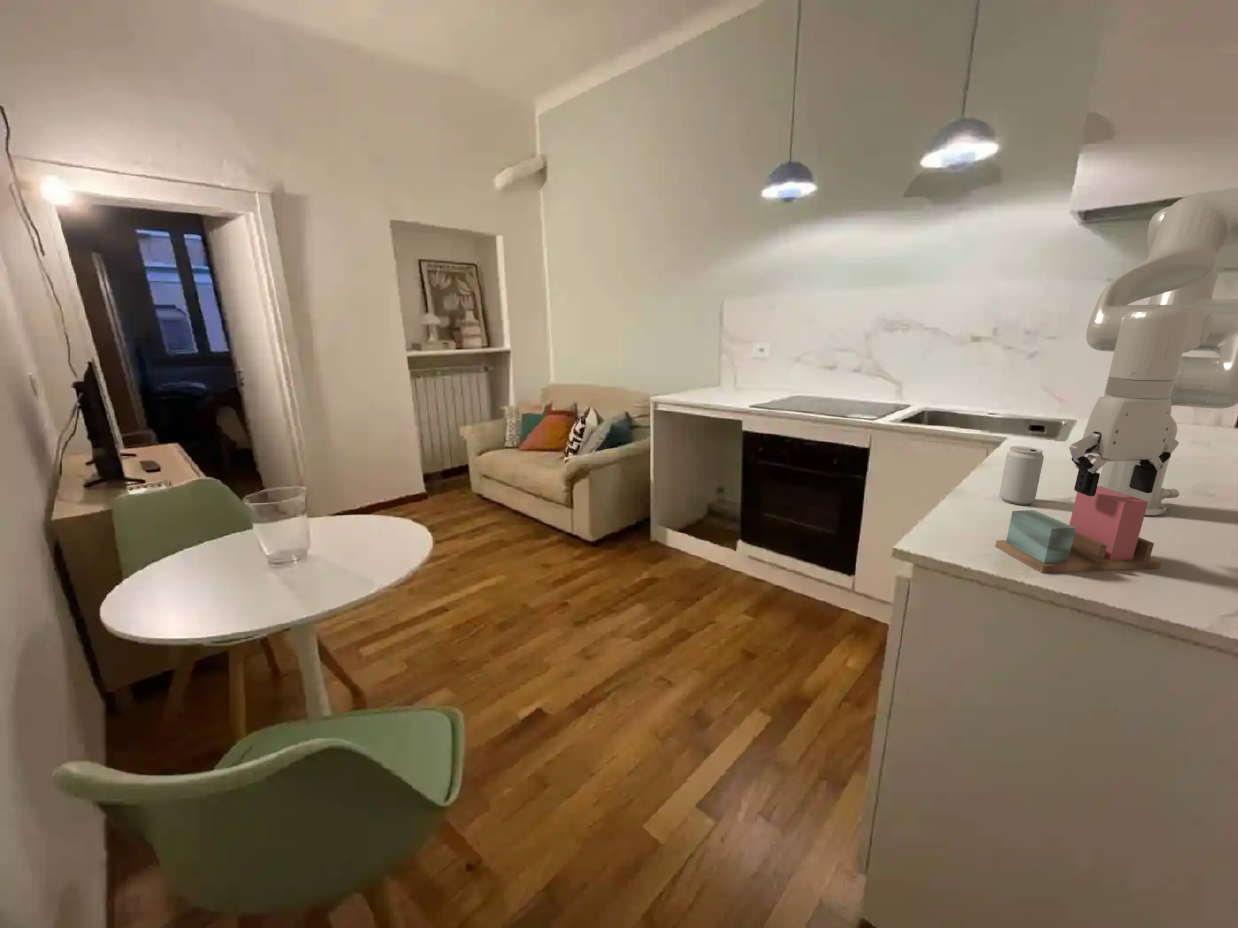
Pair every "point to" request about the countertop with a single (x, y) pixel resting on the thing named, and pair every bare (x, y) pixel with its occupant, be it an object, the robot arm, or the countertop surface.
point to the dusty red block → (1110, 520)
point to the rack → (1064, 546)
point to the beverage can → (1021, 475)
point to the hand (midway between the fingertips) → (1112, 491)
